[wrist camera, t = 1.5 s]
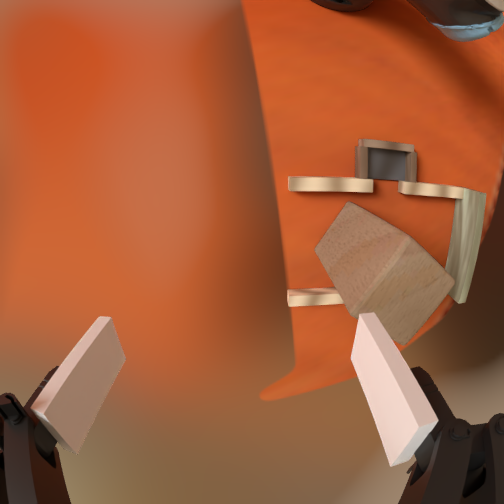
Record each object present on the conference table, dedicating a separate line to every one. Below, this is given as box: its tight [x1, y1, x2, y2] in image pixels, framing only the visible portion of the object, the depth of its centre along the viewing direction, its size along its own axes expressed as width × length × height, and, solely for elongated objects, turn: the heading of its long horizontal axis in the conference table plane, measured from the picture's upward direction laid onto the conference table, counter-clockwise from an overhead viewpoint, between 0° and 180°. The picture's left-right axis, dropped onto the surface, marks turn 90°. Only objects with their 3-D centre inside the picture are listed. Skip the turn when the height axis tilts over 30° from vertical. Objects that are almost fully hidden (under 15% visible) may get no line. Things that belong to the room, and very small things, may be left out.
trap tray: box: [287, 139, 486, 307], centre depth 41 cm, size 35×33×7 cm
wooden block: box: [315, 201, 455, 345], centre depth 35 cm, size 10×10×20 cm
